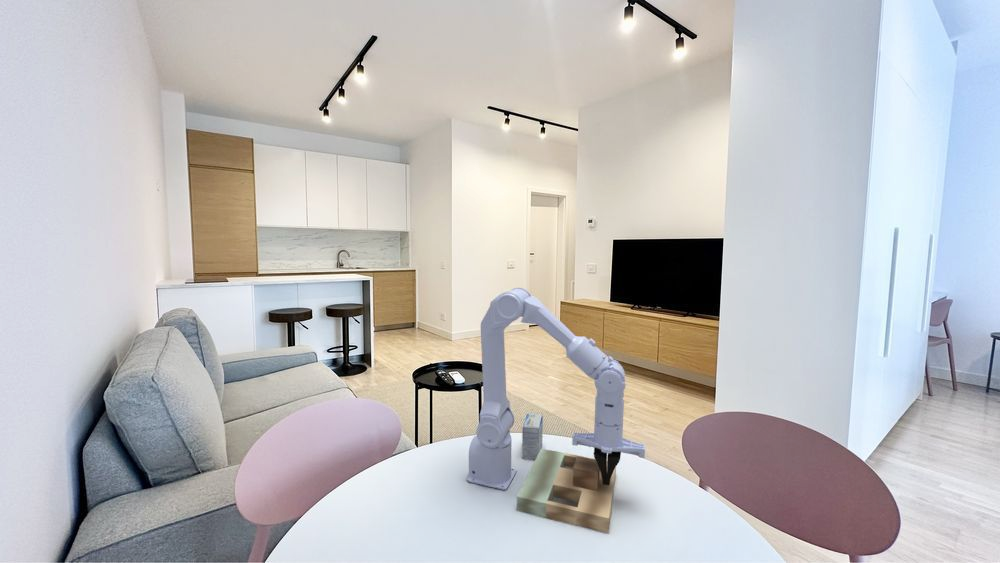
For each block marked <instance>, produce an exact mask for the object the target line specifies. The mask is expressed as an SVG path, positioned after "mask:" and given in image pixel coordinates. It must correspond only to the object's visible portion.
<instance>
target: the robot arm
mask: <svg viewBox="0 0 1000 563" xmlns="http://www.w3.org/2000/svg"><path fill="white" fill-rule="evenodd" d="M520 318H522V319H521V321H520V323H522V324H534V325H537V326H538V327H540V329H542V330H543V331H545V333H547V334H548V335H549V336H550V337H552V338H553V339H555V341H556V342H558V343H559V344H560V345H561V346H563V347H564V348H565V354H566V358H568V359H569V360H570V361H571V362H572V363H573V364H574V365H575V366H576V367H577V368H579V369H580V371H582V372H583V373H584V374H585V375H586V376H587V377H588V378H590V379H592V380H594V387H595V388H596V396H595V400H594V401H595V403H594V425H593V426H594V430H593V433H589V432H587V433H585V432H583V433H581V432H573V435H572V441H571V445H572V446H575V447H576V446H578V445H580V446H585V447H590V448H593V457H594V459H595V460H596V462H597V464H598V466H599V469H600V472H601V476H602V482H603V484H605V485H610V479H611V476H612V473H613V471H614V469H615V467H616V468H617V466H618V464H619V462H620V461H621V454H622V453H623V454H627V455H628V454H629V455H633V456H638V458H642V459H645V454H646V453H645V452H646V445H645V444H644V443H643V444H642V443H639V442H636V441H632V440H629V439H627V438H623V437H624V436H623V432H624V411H625V410H624V407H625V400H624V396H625V395H624V394H625V389H626V386H627V384H626V373H625V370H624V367H623V366H622V365H621V363H620V362H619V361H618V360H615V359H614V358H613V357H612V356H611V355H609V356H608V355H606V354H605V353H604V352H603V351H602V350H600V348H599V347H597V346H596V341H595V340H594V339H593V338H587V337H586V336H583V335H582V336H577V335H576V334H574V333H573V331H571V330H570V329H569V328H568V327H567V326H566V325H565V324H564V323H563V322H562V321H561V320H559V318H558V317H557V316H555V314H554V313H553V312H552V311H551V310H549V309H548V307H546V305H544V303H543V302H541V300H540V299H539V298H537V297H536V296H534V295H531V293H530V292H529V291H528V290H527V289H525V288H522V287H514V288H512V289H511V290H509V291H504V292H502V293H500V294H498V295H497V296H496V297H495V298H493V299H492V300H491V301H490V304H489V308H488V309H487V311H486V313H485V315H484V316H483V318H482V320H481V322H480V342H481V343H480V345H481V346H480V347H481V348H480V349H481V366H482V368H481V370H482V387H483V388H482V391H483V403H482V406H481V409H480V413H479V423H478V425H477V427H476V432H475V433H476V435H474V436H473V438H472V440H471V441H470V444H469V449H468V477H467V479H466V481H467V482H468V483H473V484H477V485H482V486H485V487H489V488H493V489H498V490H503V491H507V490H508V488H509V487H510V485H511V483H512V481H513V479H514V477H515V475H516V473H517V470H518V469H516V468H512V443H513V442H512V436H511V432H510V430H511V429H512V428H513V426H514V424H515V416H514V412H513V411H512V409H511V404H510V403H511V402H510V400H509V398H508V397H507V381H506V380H507V377H506V376H507V375H506V354H505V352H506V350H505V348H506V347H505V330H506V329H507V328H508V327H509V326H511V324H512V323H513V322H515V321H518V319H520Z"/></svg>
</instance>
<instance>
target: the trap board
mask: <svg viewBox="0 0 1000 563" xmlns="http://www.w3.org/2000/svg"><path fill="white" fill-rule="evenodd" d="M577 456H580V457H585V458H590V459H595V458H592V457H588V456H582V455H577V454H572V453H566V452H561V451H556V450H552V449H545V448H542V449H541V450H540V452H539V454H538V456H537V458H536V460H534V462H533V463H532V466H531V468H530V469H529V471H528V473H527V476H526V478H525V480H524V482H523V484H522V486H521V488H520V490H519V492H518V494H517V495H516V511H517V512H522V513H526V514H529V515H533V516H536V517H541V518H545V519H549V520H554V521H557V522H562V523H565V524H570V525H573V526H576V527H577V526H578V527H581V528H585V529H589V530H593V531H596V532H597V531H598V532H601V533H604V534H609V532H610V525H611V515H612V508H613V499H614V491H615V483H616V474H617V473H616V472H617V470H616V469H617V466H616V467H615V469H614V471H613V473H612V476H611V479H610V485H605V484H603V482H602V476H601V472H600V478H599V484H598V489H597V491H594V490H589V489H584V488H580V487H575V486H573V468H574V464H575V461H576V458H577Z"/></svg>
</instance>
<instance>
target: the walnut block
mask: <svg viewBox="0 0 1000 563" xmlns="http://www.w3.org/2000/svg"><path fill="white" fill-rule="evenodd" d="M580 456H581V455H578V456H577V458H576V461H575V464H574V468H573V486H575V487H580V488H584V489H589V490H594V491H597V489H598V484H599V478H600V469H599V466H598V464H597V462H596V460H595V458H594V459H590V458H591V457H588V458H585V457H586V456H583V457H580Z"/></svg>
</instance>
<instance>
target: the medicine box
mask: <svg viewBox="0 0 1000 563" xmlns="http://www.w3.org/2000/svg"><path fill="white" fill-rule="evenodd" d="M543 420H544V419H543V414H538V413H537V414H535V413H526V416H525V418H524V423H523V425H522V427H521V428H522V432H521V433H522V435H521V438H522V439H521V440H522V444H521V449H522V452H521V453H522V454H521V455H522V457H521V458H522V459H525V460H532V461H533V460H534V461H535V460H536V458H537V456H538V454H539V452H540V450H541V449H543V425H544V424H543V423H544V421H543Z"/></svg>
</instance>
